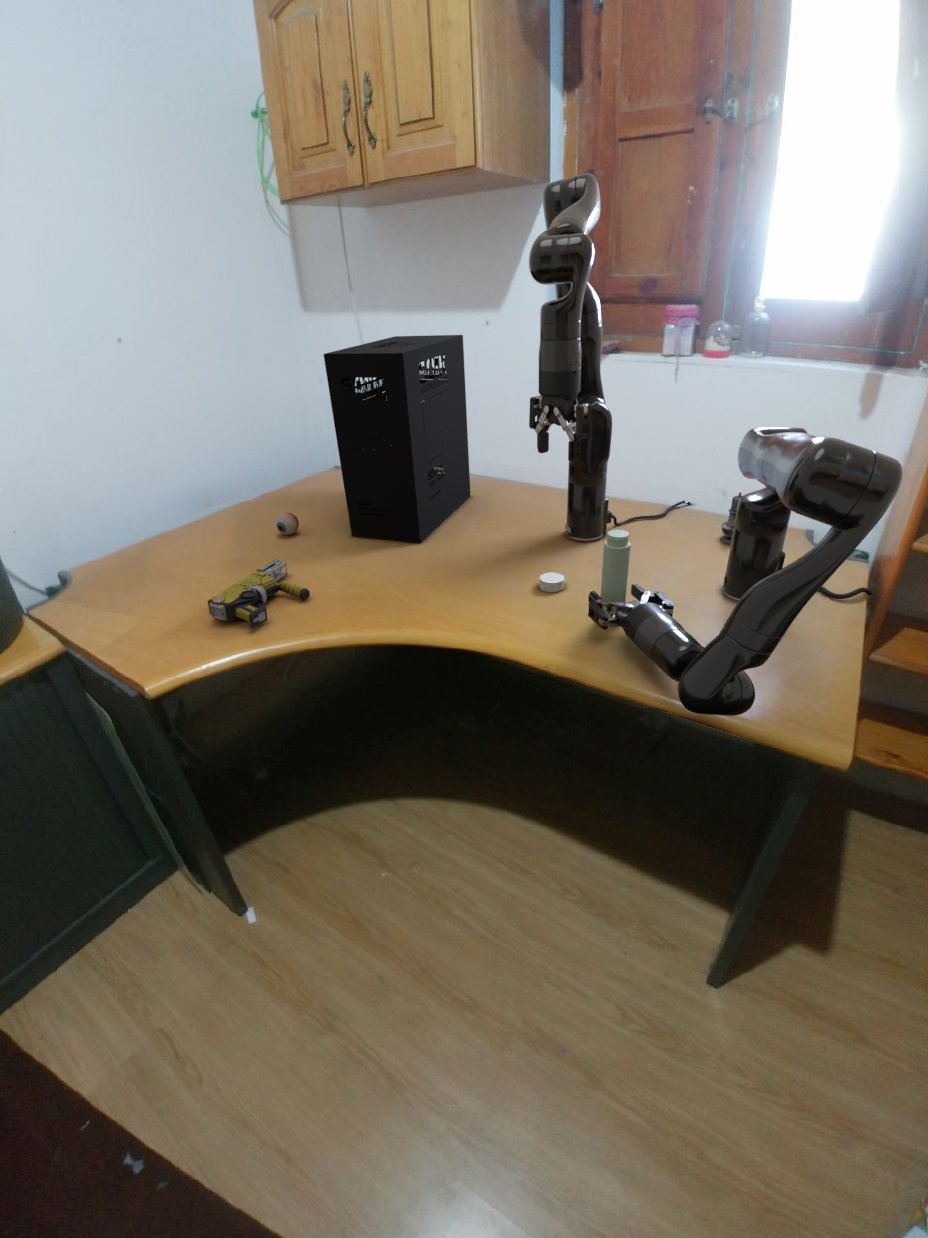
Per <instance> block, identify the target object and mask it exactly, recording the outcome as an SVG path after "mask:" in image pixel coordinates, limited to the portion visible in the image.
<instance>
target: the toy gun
mask: <svg viewBox="0 0 928 1238" xmlns="http://www.w3.org/2000/svg"><path fill="white" fill-rule="evenodd" d="M283 568H285V571H282V569H283ZM288 573H289V572H288V563H287V561H286V560H280V559H278V558H276V559H274V560H272V561H271V562H269V563H268V564H266V565H264V566H263V567H262V568H258V569H256V570H254V571H253V572H251V573H250V574H248V575H246V576H245V577H243V578H241V579H240V580H238V581H237V582H235V583H233V584H232V585H230V586H228V587H227V588H224V590H222V591H220V592H218V593H217V594H215V595H213V596H212V597H210V598H209V599H207V605H208V613H209V615H210V616H211V618H213V619H214V621H215V622H217V621H218V622H219V623H222V622H223V621H225V622H231V621H236V620H244V621H246V622H248V623H249V626H250V628H251V629H254V628H257V627H258V626H260V625H262V624H264V623H265V622H267V621H268V620H269V619H268V611H267V607H266V606H265V604H266V603H267V601H268V598H269V597H271V596H274V595H275V594H278V593H279V592H282V593H285V594H288V595H290V596H294V597H295V598H299V599H300V600H302V601H305V600H307V599H309V598H310V596H311V595H310V594H311V593H310V589H308V588H306V587H301V586H300V585H298V586H297V585H296V584H293V583H291V582H288V581H286V580H285V581H282V582H281V583H280V584H278V581H279V580H281V579H282V578H283V577H286V576H288Z"/></svg>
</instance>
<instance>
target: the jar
mask: <svg viewBox="0 0 928 1238" xmlns="http://www.w3.org/2000/svg"><path fill="white" fill-rule="evenodd" d="M629 537H630V532H628V531H627V530H623V529H612V530H609V531H608V532H607V534H606V540H605V541H604V542H603V552H602V553H603V554H602V567H601V568H602V569H601V581H600V582H601V583H600V595H599V596H600V597H601V598H602V600H605V601H609V602H610V601H611V600H614V601H618V602H621V603H623V602H626V600H627V589H628V588H627V587H628V579H629V577H628V576H629V566H630V557H631V546H632V545H631V542H630V541H629ZM616 609H617V607H614V610H613V613H614V615H615V612H616ZM603 610H606V611H607V607H606V606H603ZM615 625H616V624H611V625H610V626H615ZM616 626H617V625H616Z"/></svg>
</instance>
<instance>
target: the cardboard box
mask: <svg viewBox="0 0 928 1238" xmlns="http://www.w3.org/2000/svg"><path fill="white" fill-rule="evenodd" d="M464 350H465V349H464V335H463V334H440V335H439V334H438V335H437V334H436V335H435V334H434V335H433V334H432V335H402V336H401V335H397V336H395V335H394V336H391V337H387V338H383V339H378V340H374V341H371V342H367V343H362V344H359V345H354V346H349V347H346V348H341V349H337V350H334V351H329V352H326V353H323V359H324V367H325V373H326V380H327V385H328V392H329V398H330V399H329V400H330V406H331V412H332V418H333V425H334V430H335V437H336V444H337V451H338V456H339V463H340V469H341V476H342V483H343V489H344V495H345V501H346V503H345V504H346V509H347V514H348V520H349V527H350V528H349V529H350V533H351V535H350V536H351V537H359V538H367V539H376V540H377V539H378V540H388V541H397V542H406V543H407V542H408V543H417V544H421V543H422V542H423V541H425V540H426V538H428V537H429V536H430V535H431V534H432V533H433V532H434V531H435V530H436V529H438V527H439V526H441V524H443V522H445V521H446V520H447V519H448V518H449V517H450V516H452V514H453V513H454V512H455V511H457V509H458V508H459V507H461V506H462V505H463V504H464V503H465V502H466V501H467V500H468V499H469V498H470V497H471V478H470V459H469V458H470V457H469V435H468V415H467V413H468V412H467V394H466V392H467V391H466V374H465V373H466V372H465V371H466V370H465V354H464V353H465V352H464ZM422 363H423V365H422ZM440 364H441V365H440ZM440 366H441V367H440ZM366 378H367V380H366ZM370 379H371V380H370ZM361 380H362V381H361Z"/></svg>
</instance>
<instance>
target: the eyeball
mask: <svg viewBox="0 0 928 1238" xmlns="http://www.w3.org/2000/svg"><path fill="white" fill-rule="evenodd" d="M299 525H300V522H299V519H298V517H297V516H296V515H295V514H294V513H292V512H287V511H286V512H282V513H280V514H279V515H278V516H277V517H276V520H275V527H276V529H277V530H278V531H279V532H280V533H281V534H282V535H285V536H286V535H287V536H289V535H293V534H295V533H296V532H297V531H298V529H299Z"/></svg>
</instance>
